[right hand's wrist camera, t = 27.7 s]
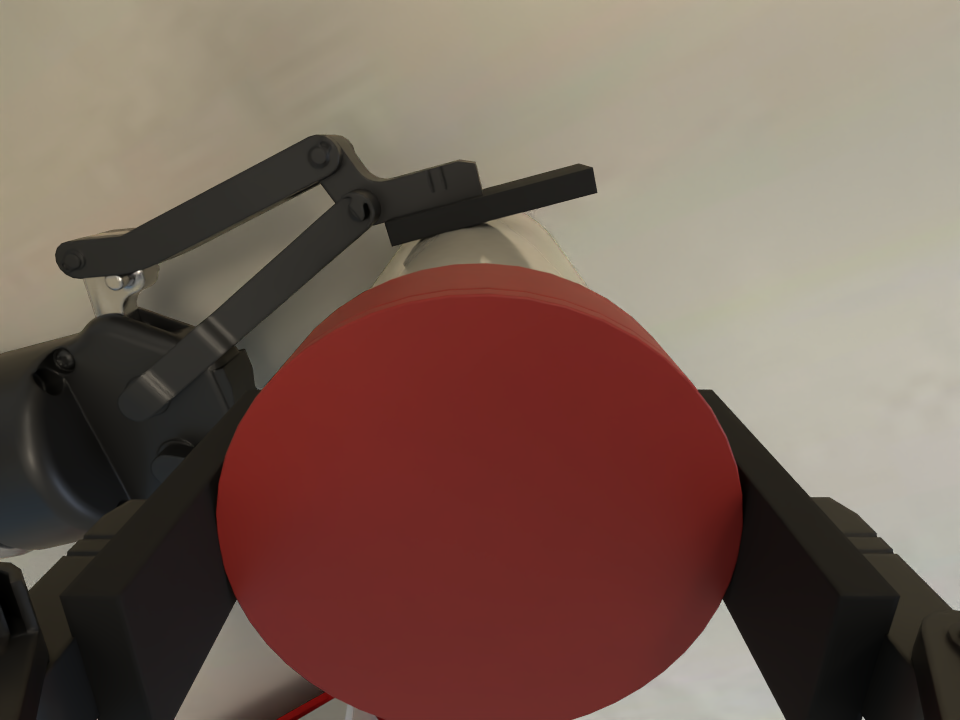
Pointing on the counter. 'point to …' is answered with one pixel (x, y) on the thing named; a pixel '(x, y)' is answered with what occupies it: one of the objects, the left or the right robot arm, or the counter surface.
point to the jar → (485, 249)
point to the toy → (327, 710)
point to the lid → (479, 501)
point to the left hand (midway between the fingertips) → (611, 308)
